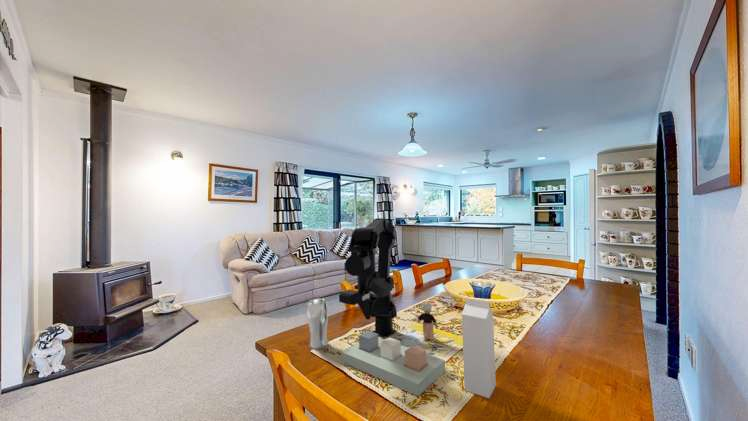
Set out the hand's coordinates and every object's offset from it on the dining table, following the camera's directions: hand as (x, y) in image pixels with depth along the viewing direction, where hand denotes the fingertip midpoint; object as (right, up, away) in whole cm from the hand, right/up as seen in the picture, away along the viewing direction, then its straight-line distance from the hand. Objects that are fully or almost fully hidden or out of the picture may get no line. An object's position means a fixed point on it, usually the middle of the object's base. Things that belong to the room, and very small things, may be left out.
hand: (368, 319), depth 90 cm
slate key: (0, -9, 0) cm, 9 cm away
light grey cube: (+7, -9, -6) cm, 13 cm away
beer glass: (-17, -13, +10) cm, 23 cm away
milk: (+28, -11, -17) cm, 35 cm away
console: (+7, -12, -6) cm, 15 cm away
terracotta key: (+13, -9, -11) cm, 19 cm away
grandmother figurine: (+21, -11, +10) cm, 26 cm away
